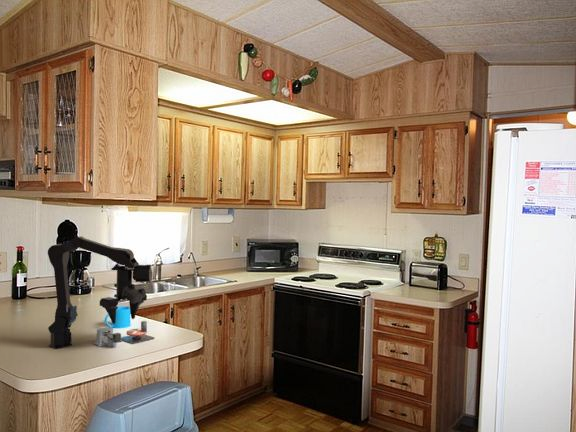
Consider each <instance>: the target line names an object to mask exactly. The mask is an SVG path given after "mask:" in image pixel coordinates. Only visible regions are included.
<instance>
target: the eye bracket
mask: <svg viewBox="0 0 576 432" xmlns="http://www.w3.org/2000/svg"><path fill="white" fill-rule="evenodd" d="M105 331H106V332H109V333H112V334H114V328H112V327H109V326H107V327H103V328H98V329H97V330H96V341H94V342H93V344H94V345H95V346H98V347H102V346H106V345H107V347H108V346H109V348H111V347H115V346H117V343H114V342H113V339H111V338H108V337H106V339H104V336H103V332H105Z"/></svg>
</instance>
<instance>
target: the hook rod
mask: <svg viewBox="0 0 576 432" xmlns="http://www.w3.org/2000/svg"><path fill="white" fill-rule="evenodd" d="M103 337H106V338H107V337H108V338H111V339H113V342H114V343H116V344H117V343H121V342H122V340H121V338H122V334H121V333H120V332H115V333H114V332H113V334H112V333H109V332H107V331H105V332H103Z"/></svg>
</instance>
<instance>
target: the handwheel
mask: <svg viewBox="0 0 576 432" xmlns="http://www.w3.org/2000/svg"><path fill="white" fill-rule="evenodd" d="M147 323H148V322H147V321H146V320H141V322H140V328H133V329H132V328H131V329H129V330H127V331H126V336H140V335H144V334H145V335H147V333H148V330H147V329H148V328H147V327H148V326H147V325H148V324H147Z"/></svg>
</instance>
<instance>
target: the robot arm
mask: <svg viewBox="0 0 576 432" xmlns="http://www.w3.org/2000/svg"><path fill="white" fill-rule="evenodd" d="M78 248H79V249H81V250H85V251H88V252H91V253H95V254H97V255H99V256H104V257H106V258H108V259H110V260H111V261H112V262H114V263H115V265H114V266H113V267H112V268H111V271H116V283H114V287H115V288H116V289H115V291H116V294H113V297H111V296H106V297H102V298H100V300H99V306H100V307H102V308H103V309H105V311H106V313H107V314H108V315H109V316H108V318H109V319H110V321H112V323H113V324H115V322H116V310H117V308H118V307H119V306H118V305H119V303H126V302H129V304H128V305H129V307H130V319H131V320H134V319H135V318H136V314H137V312H138V309H139V308H140V306H141V305H142V304H143V303H145V301H147V299H148V296H147V294H146V289H145V288H139V289H136V287H135V284H134V283H133V280H134V281H135V282H136V283H152V280H153V270H152V264H140V263H139V262H138V261H137V259H136V258H135V254H134V252H133V250H131V249H129V248H123V247H113V246H110V245H107V244H104V243H100V242H98V241H94V240H91V239H88V238H85V237H83V236H76V237H74V238H72V239H70V240H68V241H64V242H63V243H58V244H54V245H53V244H52V245H51V246H50V247H49V248H48V249H47V257H48V259H49V262H50V264H51V266H52V268H53V271H54V273H53V274H54V282H55V292H56V300H57V301H56V302H57V305H56V309H55V313H54V321H53V323H52V324H51V325H49V326H48V328H47V329H48V331H49V332H48V333H49V334H50V343H49V344H48V347H51V348H53V349H56V350H58V349H62V348H65V347H70V346H73V343H72V332H71V329H70V328H71V326H72V324H74V322H75V321H76V319H77V317H78V312H77V305H73V304H72V302H71V296H70V294H71V293H70V285H69V274H68V265H69V264H68V263H69V259H70V253H71V252H73V251H76V250H77V249H78Z"/></svg>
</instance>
